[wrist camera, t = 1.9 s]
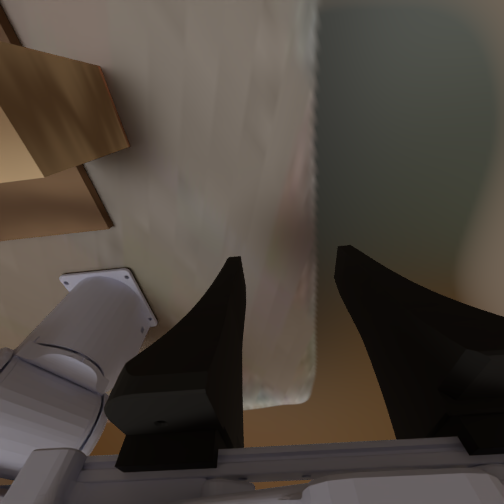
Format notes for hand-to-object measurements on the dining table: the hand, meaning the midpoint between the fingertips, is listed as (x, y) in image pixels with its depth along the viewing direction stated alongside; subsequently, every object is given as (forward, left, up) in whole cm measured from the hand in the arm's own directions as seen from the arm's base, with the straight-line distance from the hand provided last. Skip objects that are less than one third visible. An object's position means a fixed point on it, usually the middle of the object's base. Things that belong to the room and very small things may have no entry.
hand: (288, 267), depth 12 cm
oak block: (+8, +13, -10) cm, 18 cm away
